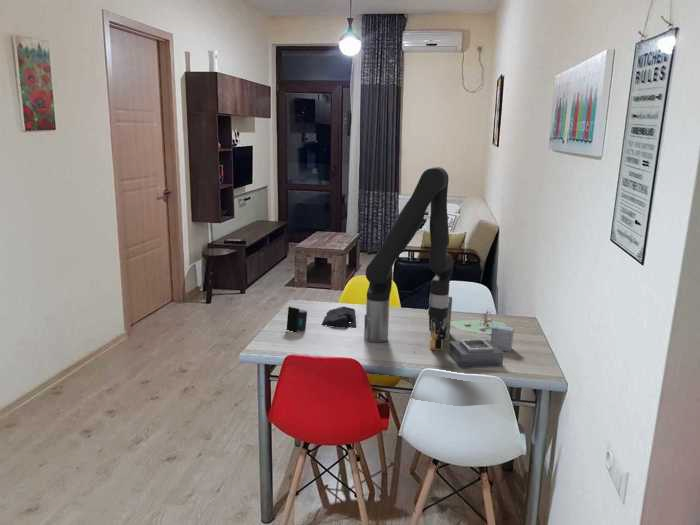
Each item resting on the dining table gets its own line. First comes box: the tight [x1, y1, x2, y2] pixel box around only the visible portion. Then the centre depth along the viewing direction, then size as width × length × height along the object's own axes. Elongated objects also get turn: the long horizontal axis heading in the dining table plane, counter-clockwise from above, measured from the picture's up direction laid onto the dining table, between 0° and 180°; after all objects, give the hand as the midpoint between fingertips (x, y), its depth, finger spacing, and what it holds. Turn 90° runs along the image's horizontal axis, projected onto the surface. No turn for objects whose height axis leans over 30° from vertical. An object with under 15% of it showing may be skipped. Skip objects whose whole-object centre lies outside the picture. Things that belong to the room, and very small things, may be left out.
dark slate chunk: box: [321, 306, 357, 328], centre depth 251 cm, size 15×22×5 cm
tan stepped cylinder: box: [429, 331, 443, 351], centre depth 219 cm, size 5×5×6 cm
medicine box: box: [490, 325, 515, 352], centre depth 221 cm, size 8×4×9 cm, turn 65°
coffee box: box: [443, 296, 453, 341], centre depth 232 cm, size 9×6×16 cm
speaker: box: [286, 306, 308, 333], centre depth 234 cm, size 8×6×10 cm
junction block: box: [448, 338, 505, 369], centre depth 209 cm, size 16×13×6 cm
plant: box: [450, 309, 508, 334], centre depth 246 cm, size 25×21×9 cm
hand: (435, 345), depth 219 cm, fingers closed on tan stepped cylinder, 4 cm apart
